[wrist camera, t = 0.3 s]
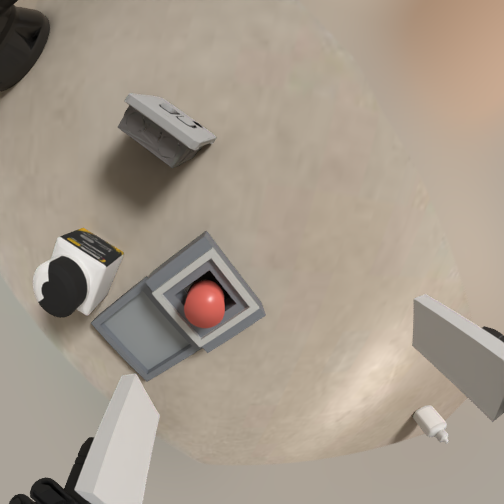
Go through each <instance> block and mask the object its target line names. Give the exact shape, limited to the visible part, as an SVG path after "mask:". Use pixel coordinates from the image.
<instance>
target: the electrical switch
mask: <svg viewBox="0 0 504 504" xmlns="http://www.w3.org/2000/svg"><path fill="white" fill-rule="evenodd" d="M125 102H126V103H127V104H129V107H128V109H127V110H126V112H125V114H124V117H123V119H122V120H121V122H120V124H119V126H118V128H119V129H120V130H122V131H123V132H124V133H126V134H127V135H129V136H130V137H131V138H133V139H134V140H135V141H137V142H138V143H139V144H141V145H142V146H143V147H145V148H146V149H147V150H149V151H150V152H151V153H153V154H154V155H155V156H157V157H158V158H159V159H161V160H162V161H163V162H165V163H166V164H167V165H169V166H170V167H171V168H174V167H176V166H178V165H180V164H182V163H184V162H186V161H188V160H190V159H191V158H193V157H194V156H195V155H196V153H197V152H198V151H199V150H201V148H202V146H203V145H206V144H209V143H211V144H212V143H213V142H214V141H215V139H216V138H217V137H216V136H215V135H214V134H213V133H211V132H210V131H209V130H207V129H206V128H205V127H203V126H202V125H200V124H199V123H198V122H196V121H195V120H194V119H192V118H191V117H189V116H188V115H187V114H185V113H184V112H182V111H181V110H179V109H178V108H177V107H175V106H174V105H172V104H171V103H169V102H168V101H167V100H165V99H163V98H161V97H158V96H151V95H142V94H132V93H129V95H128V96H127V97H126V99H125ZM145 128H146V130H145ZM144 130H145V131H144ZM129 131H130V132H129ZM159 137H160V139H159V141H158V138H159ZM176 162H177V163H176ZM175 163H176V164H175ZM174 165H175V166H174ZM173 166H174V167H173Z"/></svg>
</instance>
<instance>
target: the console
mask: <svg viewBox="0 0 504 504" xmlns="http://www.w3.org/2000/svg"><path fill="white" fill-rule="evenodd" d="M209 270H210V271H211V272H212V274H213V275H214V276H215V278H216V279H217V280H218V281H219V283H220V284H221V285H222V286H223V288H224V289H225V290H226V291H227V293H228V294H229V296H228V297H226V298H225V299H224V304H225V313H224V317H223V319H222V320H221V322H220V323H219V324H217V325H216V326H214V327H211V328H200V327H197V326H195V325H193V324H191V323H190V322H189V321H188V319H187V318H186V316H185V313H184V306H185V302H186V298H187V295H188V294H187V293H186V291H185V290H184V288H185V287H187V286H188V285H189V284H191V283H192V282H194V281H195V280H196V279H198V278H199V277H201V276H202V275H203V274H205V273H206V272H207V271H209ZM265 315H266V314H265V311H264V308H263V306H262V303H261V301H260V300H259V299H258V297H257V296H256V295H255V293H254V292H253V291H252V290H251V288H250V287H249V286H248V284H247V283H246V282H245V281H244V279H243V278H242V277H241V275H240V274H239V273H238V271H237V270H236V269H235V267H234V266H233V265H232V264H231V262H230V261H229V260H228V258H227V257H226V256H225V254H224V253H223V252H222V250H221V249H220V248H219V246H218V245H217V244H216V242H215V241H214V240H213V238H212V237H211V236H210V234H209V233H208V232H207V231H205V232H204V233H203V234H201V235H200V236H198V237H197V238H196V239H194V240H193V241H192V242H190V243H189V244H188V245H186V246H185V247H184V248H182V249H181V250H180V251H179V252H177V253H176V254H175V255H173V256H172V257H171V258H169V259H168V260H167V261H165V262H164V263H163V264H162V265H160V266H159V267H158V268H156V269H155V270H154V271H153V272H152V273H151V274H150V275H149V277H147V276H146V277H145V278H144V279H142V280H141V281H140V282H139V283H137V284H136V285H135V286H134V287H132V288H131V289H130V290H129V291H127V292H126V293H125V294H124V295H122V296H121V297H120V298H119V299H117V300H116V301H115V302H114V303H113V304H111V305H110V306H109V307H108V308H106V309H105V310H104V311H103V312H102V313H100V314H99V315H98V316H97V317H96V318H95V319H94V320H93V321H92V322H91V324H92V325H93V326H94V327H95V328H96V330H97V331H98V332H99V333H100V334H101V335H102V336H103V337H104V338H105V340H106V341H107V342H108V343H109V344H110V345H111V346H112V347H113V348H114V349H115V350H116V351H117V352H118V354H119V355H120V356H121V357H122V358H123V359H124V360H125V361H126V362H127V363H128V364H129V365H130V366H131V367H132V368H133V369H134V370H135V371H136V372H137V373H138V374H140V375H141V376H142V377H143V378H144V379H145V380H146V381H149V380H151V379H152V378H154V377H156V376H157V375H159V374H161V373H162V372H164V371H166V370H167V369H169V368H171V367H172V366H174V365H176V364H177V363H179V362H181V361H182V360H184V359H185V358H187V357H189V356H190V355H192V354H193V353H195V352H197V351H198V350H200V349H201V348H203V349H204V350H205V351H206V352H207V353H208V352H210V351H212V350H213V349H215V348H216V347H218V346H220V345H221V344H223V343H224V342H226V341H227V340H229V339H231V338H232V337H234V336H235V335H237V334H238V333H240V332H241V331H243V330H244V329H246V328H247V327H249V326H250V325H252V324H253V323H255V322H256V321H258V320H259V319H261V318H262V317H264V316H265Z"/></svg>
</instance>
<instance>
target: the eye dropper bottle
mask: <svg viewBox="0 0 504 504" xmlns="http://www.w3.org/2000/svg"><path fill="white" fill-rule="evenodd" d="M413 419H414V420H415V421H416V422H417V424H418V425H419V426H420V428H421V429H422V430H423V432H424V433H425V434H426V435H427V436H429V437H435V436H436V438H437V439H438V440H439V441H440V442H445V443H448V439H447V437H448V434H447V432H446V431H445V428H446V426H447V424H446V422H445V420H444V419H443V418H442V417H441V416H440V415H439V413H438V412H437V411H436V410H435V409H434V408H433V406H431V405H427V406H424V407H421V408H420V409H418V410H416V411H415V413H414V415H413Z"/></svg>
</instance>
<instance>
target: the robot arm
mask: <svg viewBox="0 0 504 504" xmlns="http://www.w3.org/2000/svg"><path fill="white" fill-rule="evenodd" d="M17 1H18V0H0V91H3V90H6V89H8V88H10V87H11V86H13V85H14V84H16V83H17V82H18V81H19V80H20V79H21V78H22V77H23V76H24V75H25V74H26V73H27V72H28V71H29V70H30V68H31V67H32V66H33V65H34V63H35V62H36V60H37V59H38V57H39V56H40V54H41V52H42V50H43V48H44V46H45V44H46V42H47V39H48V35H49V30H50V24H49V20H48V19H47V17H46V16H44V15H43V14H42V13H41V12H39V11H37V10H33V9H27V8H22V7H16V6H14V5H13V4H14V3H16V2H17ZM412 346H413V347H414V348H415V349H417V350H418V351H419V352H420V353H421V354H422V355H423V356H424V357H425V358H426V359H427V360H429V361H430V362H431V363H432V364H433V365H434V366H435V367H436V368H437V369H438V370H439V371H440V372H441V373H443V374H444V375H445V376H446V377H447V378H448V379H449V380H450V381H451V382H452V383H453V384H454V385H455V386H456V387H457V388H458V389H459V390H460V391H461V392H463V393H464V394H465V395H466V396H467V397H468V398H469V399H470V400H471V401H472V402H473V403H474V404H475V405H476V406H477V407H478V408H479V409H480V410H481V411H482V412H483V413H484V414H485V415H486V416H487V417H488V418H489V419H490V420H491V421H492V422H493V421H494V420H496V419H497V418H498V417H499V416H500V415H502V414H503V413H504V336H503V334H501V333H500V332H498V331H496V330H494V329H491V328H488V327H483V328H480V327H479V326H477V325H476V324H474V323H473V322H471V321H470V320H468V319H466V318H465V317H463V316H462V315H460V314H458V313H457V312H455V311H454V310H452V309H450V308H449V307H447V306H445V305H444V304H442V303H440V302H439V301H437V300H435V299H434V298H432V297H430V296H429V295H427V294H424V295H421V296H419V297H417V298H414V320H413V344H412ZM159 416H160V415H159V413H158V412H157V410H156V408H155V407H154V405H153V403H152V401H151V400H150V398H149V396H148V394H147V393H146V391H145V389H144V387H143V385H142V383H141V382H140V380H139V378H138V376H137V374H136V373H135V374H128V375H122V376H121V379H120V381H119V383H118V385H117V387H116V389H115V392H114V394H113V396H112V398H111V400H110V403H109V405H108V407H107V410H106V412H105V414H104V417H103V419H102V421H101V423H100V426H99V428H98V430H97V433H96V435H95V438H93V437H90V438H88V439H87V440H86V441H85V443H84V444H83V445H82V446H81V448H80V451H79V453H78V457H77V458H76V460H75V464H74V465H73V468H72V470H71V473H70V475H69V477H68V480H67V483H66V485H65V488H64V489H63V488H62V487H61V486H60V485H59V484H58V483H57V482H55V481H54V480H52V479H51V478H42V479H39V480H38V481H36V482H35V483H34V484H33V486H32V488H31V491H30V497H31V498H32V499H33V500H34V501H36V502H34V501H32V500H31V499H30V498H29V497H28V496H26V495H24V494H18V495H15V496H14V497H13V498H12V499H11V501H10V503H9V504H142V503H143V497H144V491H145V486H146V480H147V474H148V469H149V464H150V459H151V454H152V449H153V444H154V439H155V435H156V430H157V425H158V421H159Z"/></svg>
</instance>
